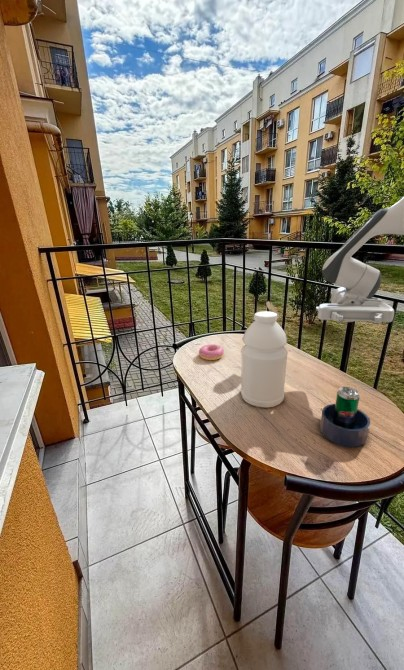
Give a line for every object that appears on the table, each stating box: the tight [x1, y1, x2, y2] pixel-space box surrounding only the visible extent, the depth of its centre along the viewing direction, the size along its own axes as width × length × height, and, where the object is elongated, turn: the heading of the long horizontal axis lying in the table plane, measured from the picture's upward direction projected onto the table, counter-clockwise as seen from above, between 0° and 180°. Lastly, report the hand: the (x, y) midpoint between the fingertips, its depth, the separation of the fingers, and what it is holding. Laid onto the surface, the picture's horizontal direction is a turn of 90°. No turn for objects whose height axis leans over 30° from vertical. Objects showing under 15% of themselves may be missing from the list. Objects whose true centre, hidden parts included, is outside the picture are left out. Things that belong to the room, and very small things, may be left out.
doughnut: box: [198, 343, 225, 361], centre depth 121 cm, size 11×11×4 cm
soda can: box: [333, 386, 361, 429], centre depth 72 cm, size 5×5×12 cm
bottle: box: [240, 310, 289, 408], centre depth 87 cm, size 14×14×28 cm
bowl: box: [319, 403, 371, 448], centre depth 73 cm, size 11×11×5 cm
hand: (358, 320), depth 78 cm, fingers open, 8 cm apart
